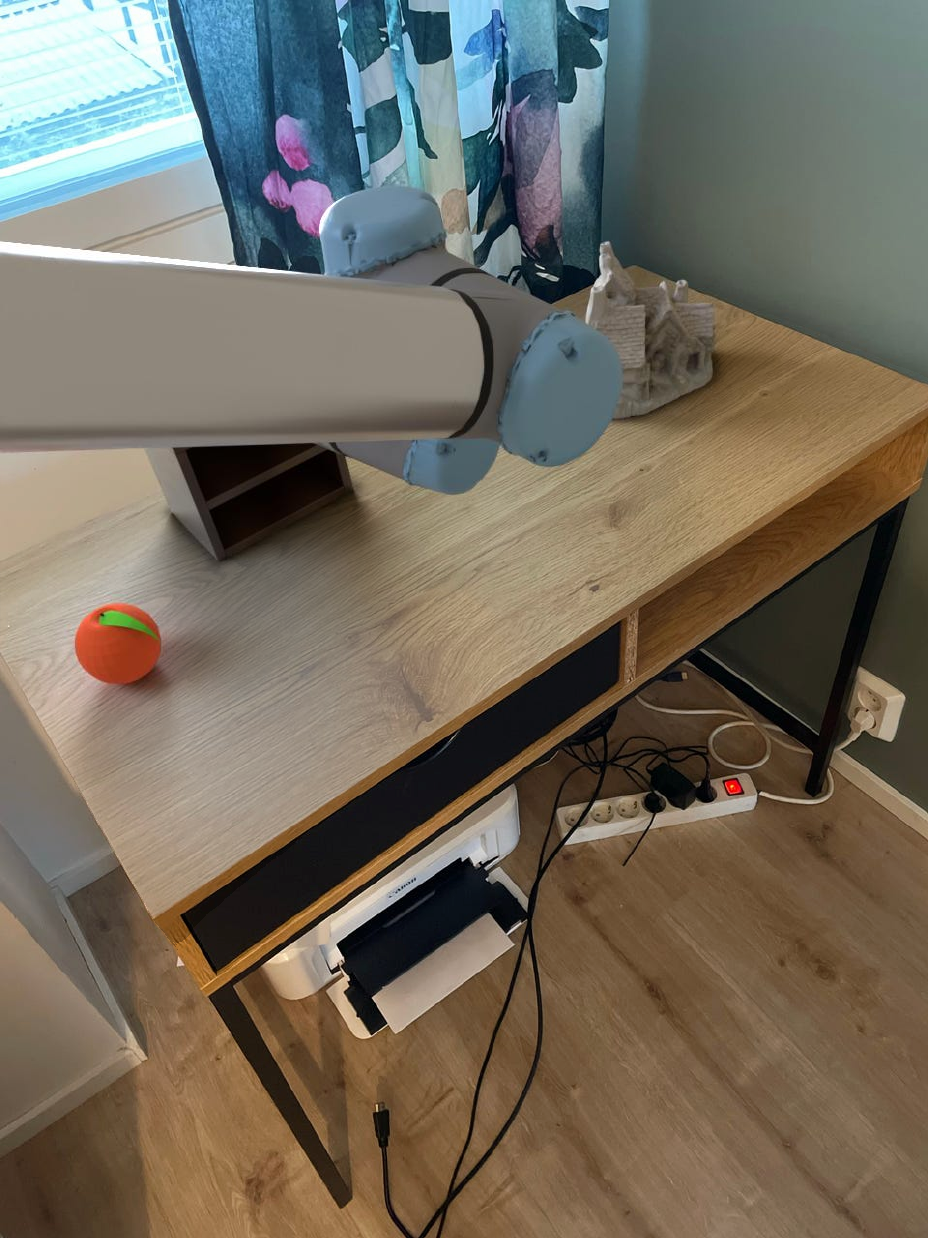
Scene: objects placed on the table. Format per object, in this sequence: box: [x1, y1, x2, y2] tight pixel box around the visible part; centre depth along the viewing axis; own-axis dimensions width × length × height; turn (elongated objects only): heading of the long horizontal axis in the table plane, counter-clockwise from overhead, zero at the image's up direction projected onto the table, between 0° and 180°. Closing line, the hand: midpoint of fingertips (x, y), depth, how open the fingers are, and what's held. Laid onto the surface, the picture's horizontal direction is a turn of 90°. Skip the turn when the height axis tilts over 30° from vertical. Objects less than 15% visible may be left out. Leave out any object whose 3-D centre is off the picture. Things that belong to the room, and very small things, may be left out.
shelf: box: [143, 443, 354, 562], centre depth 89 cm, size 16×11×14 cm
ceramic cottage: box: [585, 241, 717, 420], centre depth 98 cm, size 16×16×15 cm
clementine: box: [74, 602, 162, 685], centre depth 76 cm, size 8×7×7 cm
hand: (134, 326), depth 80 cm, fingers closed on die, 8 cm apart
